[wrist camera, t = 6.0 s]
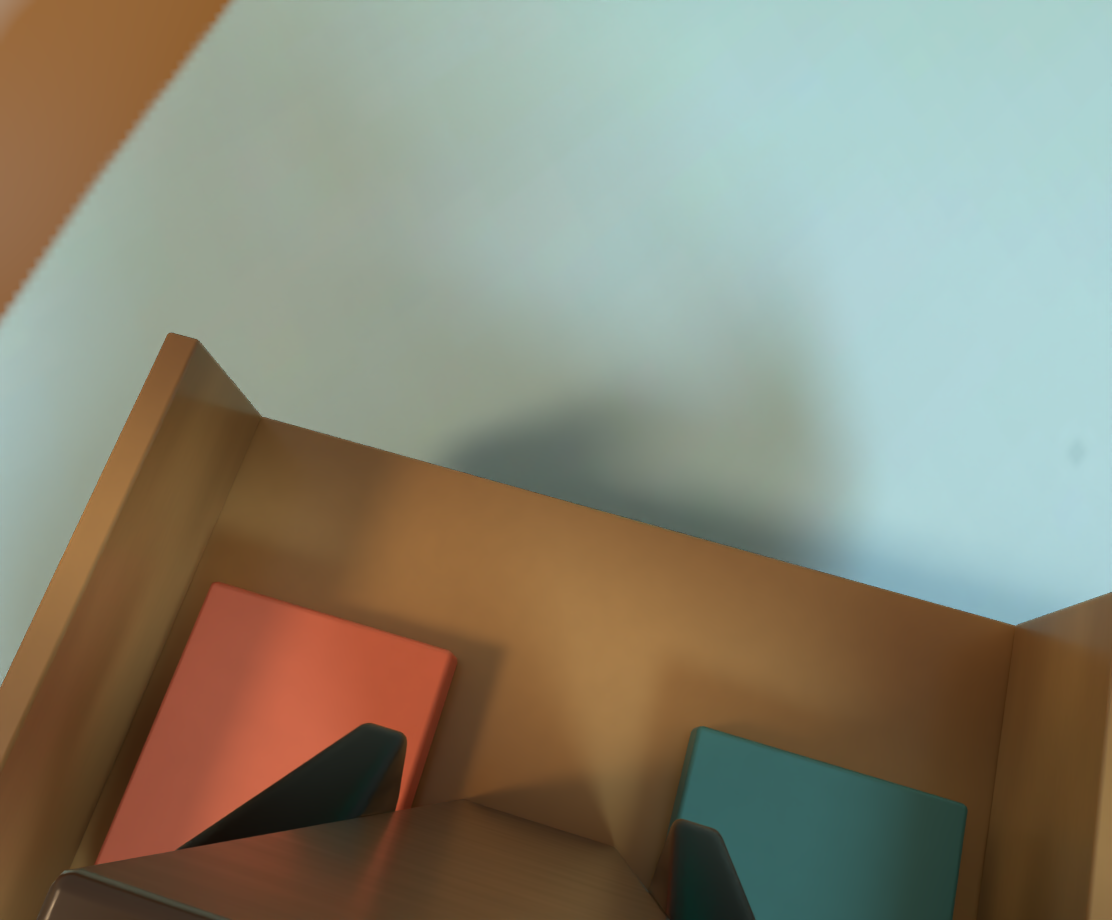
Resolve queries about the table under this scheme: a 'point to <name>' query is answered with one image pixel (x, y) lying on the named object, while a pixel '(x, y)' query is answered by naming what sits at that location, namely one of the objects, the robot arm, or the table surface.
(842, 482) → the table surface
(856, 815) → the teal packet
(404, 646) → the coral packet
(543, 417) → the table surface
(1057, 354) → the table surface
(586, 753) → the tray
